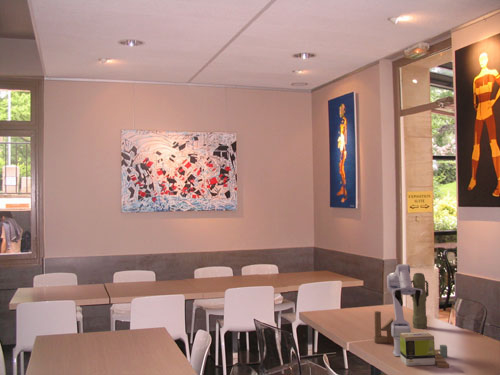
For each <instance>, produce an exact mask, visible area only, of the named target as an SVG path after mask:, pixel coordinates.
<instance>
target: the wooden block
mask: <svg viewBox="0 0 500 375" xmlns="http://www.w3.org/2000/svg"><path fill="white" fill-rule="evenodd" d="M381 315H382V312H381V311H379V310H377V311H376V310H375V311H374V336H373V337H374V338H373V340H374V343H375V344H394V337H392V334H391V324H392V322H393V321H394V318H393V317H391V318H390V319H389V320H388V321H387V322H386V323H385V324H384V325H383V326H382V318H381V317H382V316H381ZM382 332H386V335H382Z"/></svg>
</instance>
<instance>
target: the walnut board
mask: <svg viewBox="0 0 500 375" xmlns="http://www.w3.org/2000/svg"><path fill="white" fill-rule="evenodd" d="M435 365H436V367H437V368H443V369H444V368H445V369H446V368H447V369H449V368H450V364H449V363H448V362H447V360H445V358H443V357H442V356H441V355H440V352H435Z"/></svg>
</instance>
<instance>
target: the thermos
mask: <svg viewBox="0 0 500 375" xmlns="http://www.w3.org/2000/svg"><path fill="white" fill-rule="evenodd" d="M411 283H412V287H413V288H418V289H422V291H423V293H422V294H420V298H419V305H418V306H417V305H416V300H415V294H411V295H409V297H411V300H412V308H413V309H412V310H413V311H412V313H413V314H412V328H414V329H417V330H425V329H427V328H428V326H427V325H428V316H427V306H426V305H427V298H428V297H429V295H430V294H429V282H428V281H427V280H426V277H425V275H424V273H423V272H422V273H421V272H415V273H414V274H413V277H412V279H411Z"/></svg>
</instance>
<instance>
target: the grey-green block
mask: <svg viewBox="0 0 500 375" xmlns="http://www.w3.org/2000/svg"><path fill="white" fill-rule="evenodd" d="M435 352H439V353H440V355H441V356H442V357H443V358H444V359H448V346H447V345H446V344H439V348H438V349H437V348H435Z"/></svg>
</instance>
